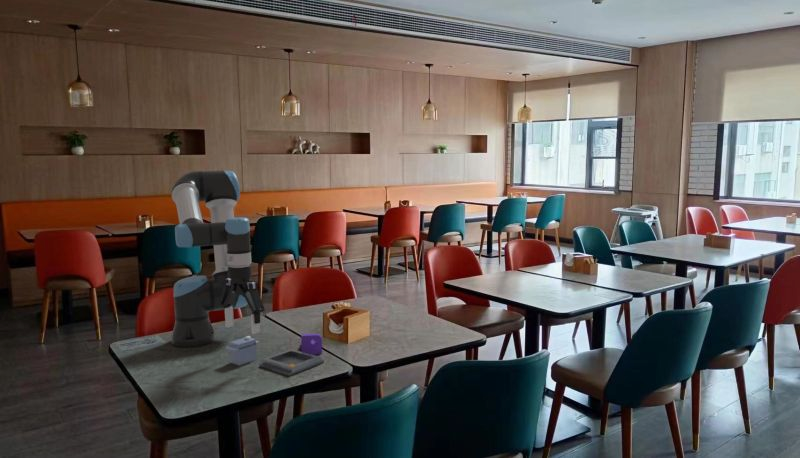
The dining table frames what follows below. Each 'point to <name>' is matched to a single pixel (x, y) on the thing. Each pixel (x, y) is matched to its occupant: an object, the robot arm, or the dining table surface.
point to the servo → (243, 350)
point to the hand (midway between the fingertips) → (242, 329)
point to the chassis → (290, 362)
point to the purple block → (311, 343)
